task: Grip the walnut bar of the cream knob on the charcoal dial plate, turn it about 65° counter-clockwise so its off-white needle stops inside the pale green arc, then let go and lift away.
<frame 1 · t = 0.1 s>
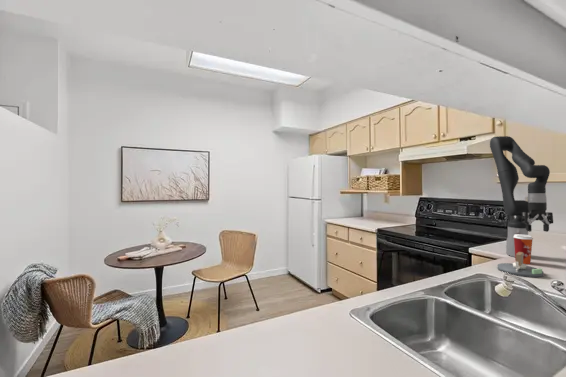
hand: (537, 231, 145), 17 cm above the counter, tool pointing down, fingers open, 8 cm apart
coffee cup: (522, 262, 146), on the counter
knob: (518, 261, 130), point 5 cm above the counter, hinge at 0.0°
dial plate: (519, 271, 132), on the counter
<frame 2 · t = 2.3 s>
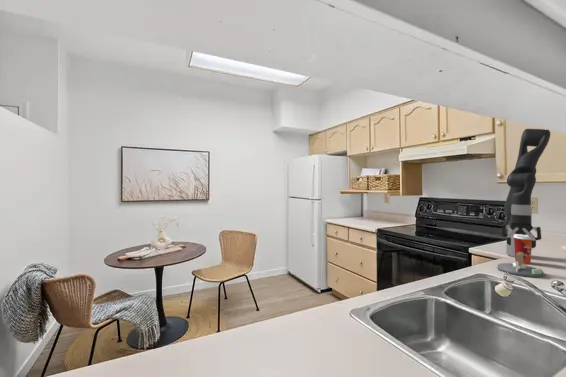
hand: (521, 246, 131), 12 cm above the counter, tool pointing down, fingers open, 8 cm apart
nothing on the counter moved.
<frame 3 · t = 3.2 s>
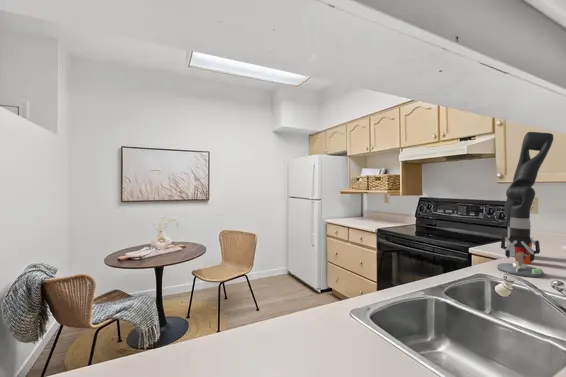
hand: (519, 259, 131), 6 cm above the counter, tool pointing down, fingers open, 8 cm apart
nothing on the counter moved.
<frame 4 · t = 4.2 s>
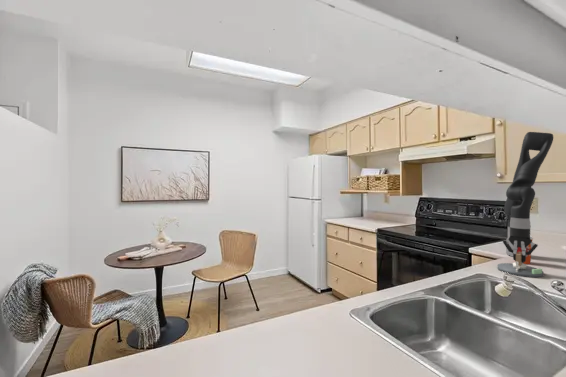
hand: (519, 261, 131), 5 cm above the counter, tool pointing down, fingers closed on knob, 2 cm apart
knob: (518, 261, 130), point 5 cm above the counter, hinge at 0.0°, touching gripper
everything else where it was.
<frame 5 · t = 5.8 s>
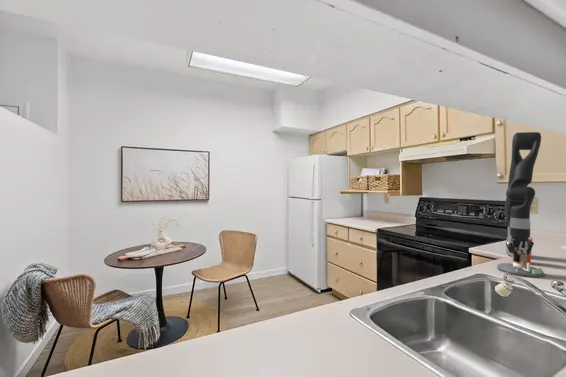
hand: (519, 261, 131), 5 cm above the counter, tool pointing down, fingers closed on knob, 2 cm apart
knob: (521, 261, 130), point 5 cm above the counter, hinge at 39.8°, touching gripper
everything else where it was.
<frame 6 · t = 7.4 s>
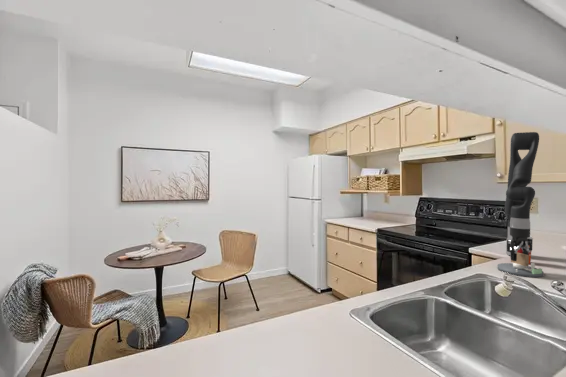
hand: (519, 259, 131), 6 cm above the counter, tool pointing down, fingers open, 7 cm apart
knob: (522, 261, 130), point 5 cm above the counter, hinge at 58.2°
everything else where it was.
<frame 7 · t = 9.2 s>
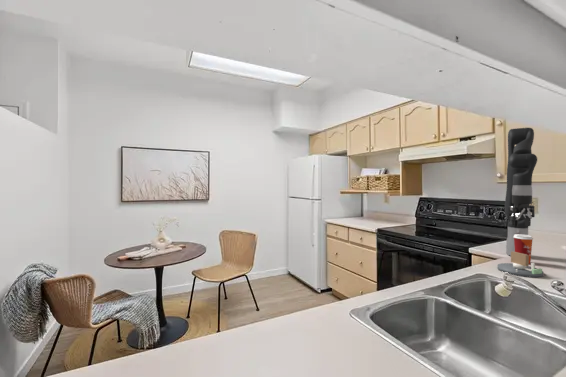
hand: (521, 226, 133), 22 cm above the counter, tool pointing down, fingers open, 8 cm apart
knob: (522, 261, 130), point 5 cm above the counter, hinge at 58.5°
everything else where it was.
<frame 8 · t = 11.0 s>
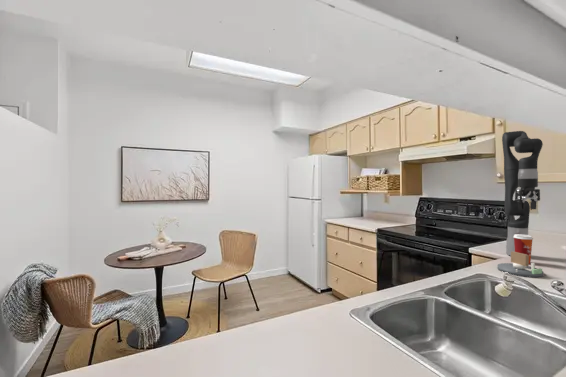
hand: (527, 209, 137), 30 cm above the counter, tool pointing down, fingers open, 8 cm apart
nothing on the counter moved.
at the end: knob at +58° (first picture: +0°); the gripper is holding nothing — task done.
